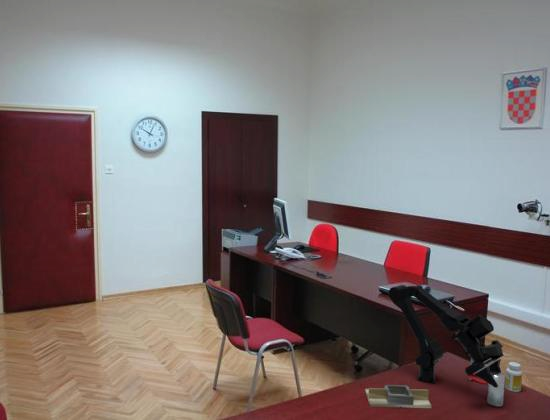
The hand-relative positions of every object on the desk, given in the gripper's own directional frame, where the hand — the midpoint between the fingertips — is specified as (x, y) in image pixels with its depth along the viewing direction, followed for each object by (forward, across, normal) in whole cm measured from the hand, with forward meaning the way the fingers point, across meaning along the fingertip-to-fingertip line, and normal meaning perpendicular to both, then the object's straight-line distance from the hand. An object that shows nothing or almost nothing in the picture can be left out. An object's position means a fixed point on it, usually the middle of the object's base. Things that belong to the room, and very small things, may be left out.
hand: (500, 384), depth 168 cm
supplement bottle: (+4, +17, +7) cm, 19 cm away
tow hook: (-4, +16, +16) cm, 23 cm away
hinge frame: (-13, -23, +24) cm, 36 cm away
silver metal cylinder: (+4, 0, +6) cm, 7 cm away
